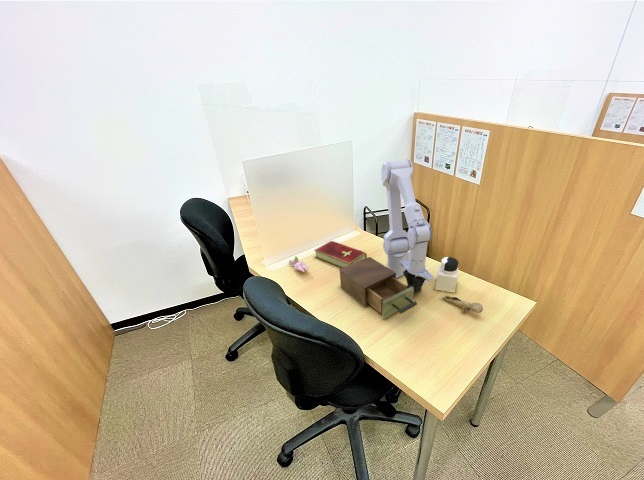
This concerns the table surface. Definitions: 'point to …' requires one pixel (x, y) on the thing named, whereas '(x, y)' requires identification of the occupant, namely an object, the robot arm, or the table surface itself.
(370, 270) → the cabinet
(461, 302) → the figurine
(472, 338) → the table surface
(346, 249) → the hardcover book
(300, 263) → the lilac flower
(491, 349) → the table surface
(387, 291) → the drawer
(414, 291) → the black block with tip
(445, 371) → the table surface
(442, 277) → the ball on square pedestal
